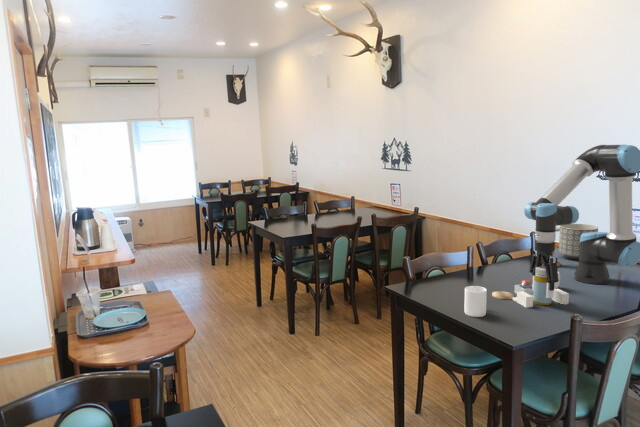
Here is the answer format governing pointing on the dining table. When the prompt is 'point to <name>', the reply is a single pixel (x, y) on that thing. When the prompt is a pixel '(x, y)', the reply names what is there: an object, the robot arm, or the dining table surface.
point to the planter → (573, 238)
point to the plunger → (526, 284)
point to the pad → (502, 295)
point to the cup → (475, 301)
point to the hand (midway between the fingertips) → (542, 293)
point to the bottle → (540, 287)
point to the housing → (526, 296)
